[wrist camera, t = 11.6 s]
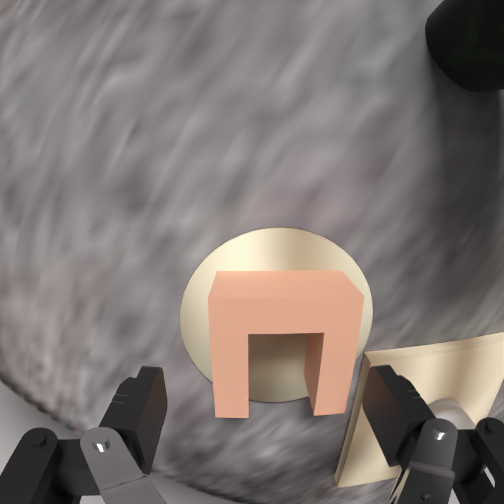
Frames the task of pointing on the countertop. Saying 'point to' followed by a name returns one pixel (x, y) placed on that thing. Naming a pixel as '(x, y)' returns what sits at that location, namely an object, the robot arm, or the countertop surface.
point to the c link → (284, 332)
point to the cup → (469, 42)
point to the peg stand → (425, 396)
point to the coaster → (267, 345)
